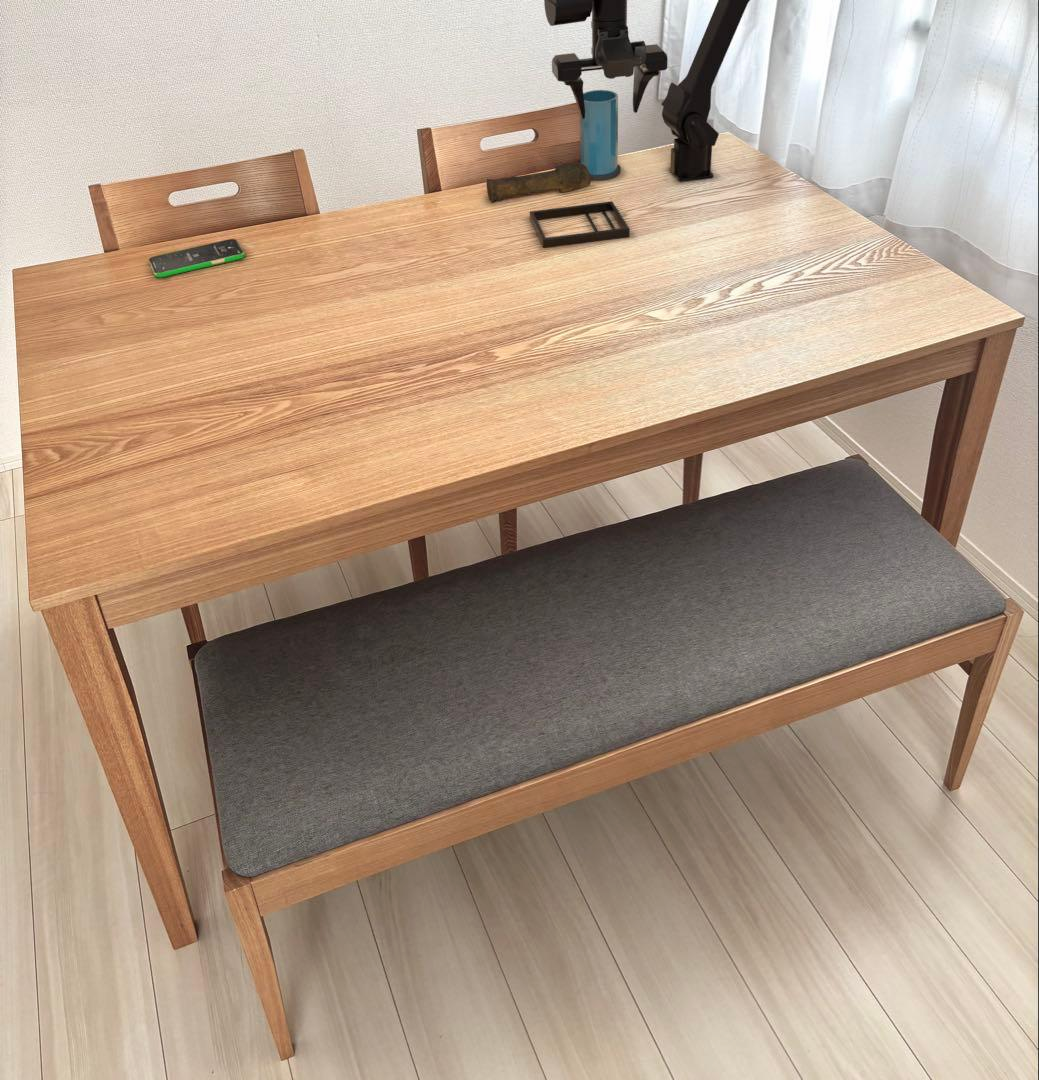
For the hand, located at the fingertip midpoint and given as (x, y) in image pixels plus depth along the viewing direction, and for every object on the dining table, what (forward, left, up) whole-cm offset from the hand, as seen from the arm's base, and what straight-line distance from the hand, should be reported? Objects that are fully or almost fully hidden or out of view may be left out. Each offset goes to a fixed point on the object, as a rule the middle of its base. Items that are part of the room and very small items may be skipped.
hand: (609, 115), depth 181 cm
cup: (0, -8, -12) cm, 15 cm away
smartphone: (+73, +9, -13) cm, 75 cm away
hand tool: (+13, -2, -13) cm, 18 cm away
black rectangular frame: (+9, +15, -13) cm, 22 cm away
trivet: (0, -8, -13) cm, 15 cm away
